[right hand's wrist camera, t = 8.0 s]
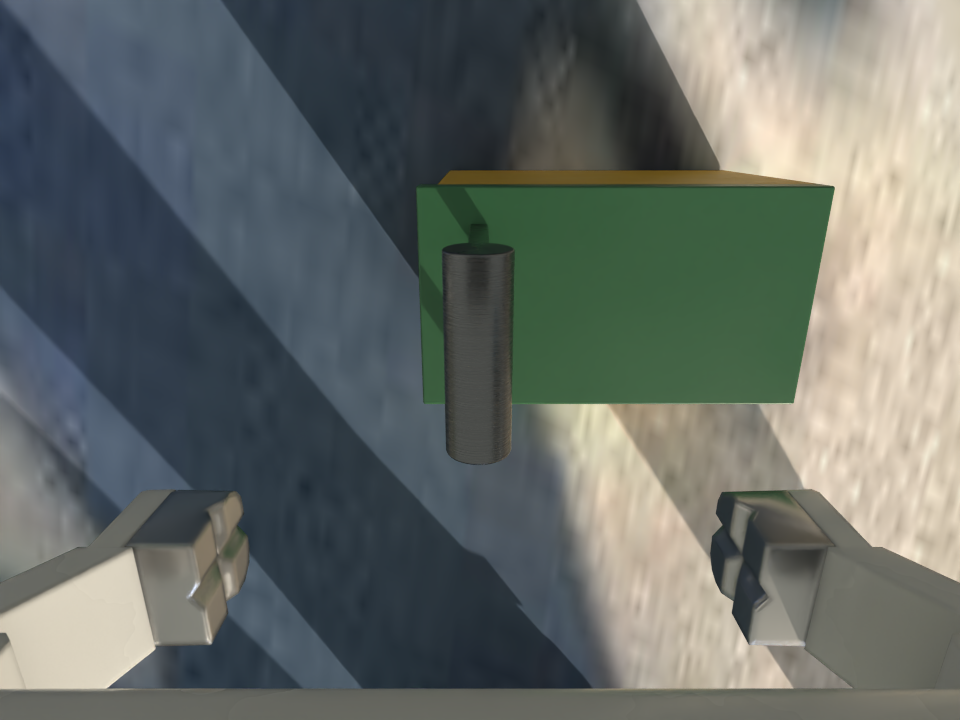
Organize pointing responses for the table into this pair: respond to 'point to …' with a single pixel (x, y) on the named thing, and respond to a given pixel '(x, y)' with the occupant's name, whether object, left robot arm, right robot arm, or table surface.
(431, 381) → the lid
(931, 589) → the right robot arm
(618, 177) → the chest
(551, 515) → the table surface
